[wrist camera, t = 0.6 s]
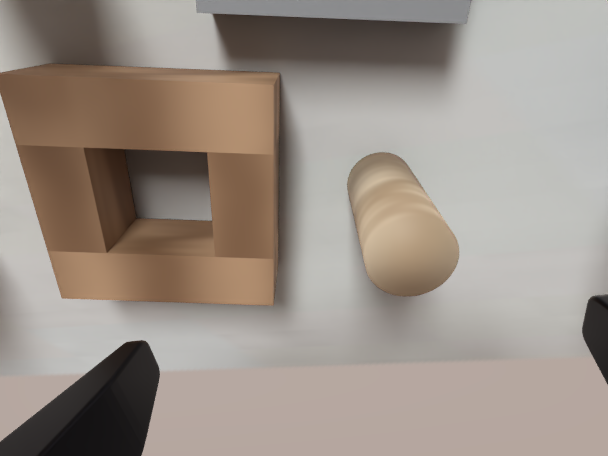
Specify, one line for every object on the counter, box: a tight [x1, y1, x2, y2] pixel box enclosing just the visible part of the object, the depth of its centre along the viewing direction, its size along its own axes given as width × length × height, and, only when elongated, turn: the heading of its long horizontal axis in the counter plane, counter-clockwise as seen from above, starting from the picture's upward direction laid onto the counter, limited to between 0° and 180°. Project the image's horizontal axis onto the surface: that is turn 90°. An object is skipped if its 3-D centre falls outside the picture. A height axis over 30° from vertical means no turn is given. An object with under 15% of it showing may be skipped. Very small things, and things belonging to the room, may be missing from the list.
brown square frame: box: [0, 64, 280, 305], centre depth 18 cm, size 10×10×4 cm
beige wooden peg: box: [347, 152, 459, 296], centre depth 17 cm, size 3×3×7 cm
